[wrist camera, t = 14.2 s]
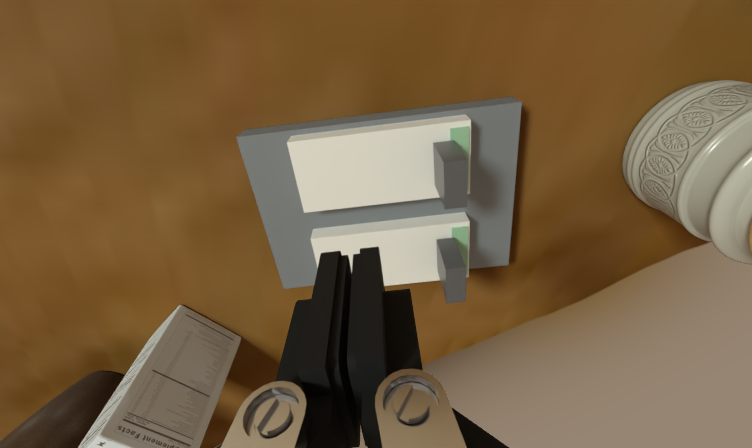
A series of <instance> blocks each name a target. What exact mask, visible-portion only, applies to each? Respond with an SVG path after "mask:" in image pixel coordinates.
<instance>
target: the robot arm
mask: <svg viewBox="0 0 752 448" xmlns="http://www.w3.org/2000/svg"><path fill="white" fill-rule="evenodd" d="M360 425H361V429H362V433H363V437H364V441H365V445H366V446H368V448H509V447H507V446H505V445H504V444H503V443H501V442H500V441H499V440H497V439H496V438H494V437H493V436H492V435H490V434H489V433H487V432H486V431H484V430H483V429H482V428H480V427H479V426H477V425H476V424H474V423H473V422H472V421H470V420H469V419H467V418H466V417H464V416H463V415H462V414H460V413H459V412H457V411H456V410H454V409H453V408H452V407H451V405H450V402H449V400H448V397H447V394H446V392H445V390H444V388H443V386H442V385H441V383H440V382H439V381H438V380H437V379H436V378H435V377H434V376H433V375H431V374H429V373H427V372H425V371H423V370H422V363H421V357H420V350H419V344H418V338H417V331H416V325H415V318H414V312H413V306H412V299H411V293H410V289H404V290H394V291H385V288H384V281H383V273H382V266H381V259H380V251H379V247H370V248H361V249H360V254H353V264H352V272H351V267H350V261H349V257H348V255H342V254H341V251H333V252H324V253H321V255H320V259H319V264H318V269H317V274H316V279H315V284H314V289H313V294H312V299H307V300H298V301H297V302H296V304H295V307H294V311H293V315H292V319H291V323H290V327H289V331H288V335H287V339H286V343H285V347H284V351H283V354H282V358H281V362H280V366H279V370H278V374H277V378H276V382H271V383H269V384H266V385H263V386H262V387H260V388H258V389H257V390H255V391H254V392H253V393H252V394H251V395H250V396H249V397H248V398H247V399H246V400H245V401H244V402H243V404H242V405H241V407H240V409H239V410H238V412H237V414H236V416H235V419H234V421H233V423H232V425H231V427H230V429H229V431H228V433H227V435H226V437H225V439H224V442H223V443H222V444H221V445H220V446H219V447H217V448H352V447H359V445H360Z"/></svg>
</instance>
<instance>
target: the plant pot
mask: <svg viewBox="0 0 752 448" xmlns="http://www.w3.org/2000/svg"><path fill="white" fill-rule="evenodd" d="M123 378H124V376H122V375H120V374H117V373H113V372H107V371H98V372H94V373H91V374H89V375H88V376H86V377H85V378H83V379H81V380H80V381H78V382H77V383H75V384H74V385H72V386H71V387H70V388H68V389H67V390H65V391H64V392H62V393H61V394H60V395H58V396H57V397H55V398H54V399H53V400H51V401H50V402H49V403H47V404H46V405H45V406H43V407H42V408H41V409H39V410H38V411H37V412H36V413H34V414H33V415H32V416H30V417H29V418H28V419H27V420H26V421H24V422H23V423H22V424H21V425H19V426H18V427H17V428H16V429H15V430H13V431H12V432H11V433H10V434H9V435H7V436H6V437H5V438H4V439H3V440H2V441H0V448H78V447H79V445H80V444H81V442H82V441H83V439H84V438H85V436H86V434H87V433H88V431H89V430H90V428H91V427H92V425H93V424H94V422H95V421H96V419H97V418H98V416H99V415H100V413H101V412H102V410H103V409H104V407H105V405H106V404H107V402H108V401H109V399H110V398H111V396H112V395H113V393H114V392H115V390H116V389H117V387H118V386H119V384H120V383H121V381H122V380H123Z"/></svg>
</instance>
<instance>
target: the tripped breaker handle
mask: <svg viewBox="0 0 752 448" xmlns="http://www.w3.org/2000/svg"><path fill="white" fill-rule="evenodd" d="M433 154H434V180H435V187H436V189H437V192H438V194H439V197H440V199H441V202H442V204H443V206H444V209H445V210H446V209H455V208H464V207H467V182H468V159H467V158H466V157H465V155H464V154H463V152H462V151H461V150H460V148H459V147H458V145H457V144H456V143H455V141H454V140H451V141H443V142H435V143H433Z"/></svg>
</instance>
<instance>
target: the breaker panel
mask: <svg viewBox="0 0 752 448" xmlns="http://www.w3.org/2000/svg"><path fill="white" fill-rule="evenodd" d="M521 107H522V102H521V101H519V100H518V99H516V98H514V97H505V98H497V99H489V100H481V101H473V102H465V103H457V104H449V105H441V106H433V107H425V108H417V109H409V110H401V111H393V112H384V113H376V114H368V115H360V116H352V117H344V118H336V119H328V120H320V121H312V122H304V123H296V124H288V125H280V126H272V127H264V128H256V129H248V130H244V131H243V132H241V133H240V134H239V135H238V136H237V137H236V138H237V141H238V144H239V148H240V151H241V154H242V157H243V160H244V164H245V167H246V170H247V173H248V176H249V179H250V183H251V186H252V189H253V192H254V195H255V199H256V202H257V205H258V208H259V211H260V214H261V218H262V221H263V224H264V227H265V230H266V234H267V237H268V240H269V243H270V246H271V249H272V253H273V256H274V259H275V262H276V265H277V269H278V272H279V275H280V278H281V281H282V284H283V288H284V289H286V288H295V287H305V286H314V284H315V279H316V274H317V269H318V264H319V259H320V255H321V253H324V252H333V251H341V254H342V255H348V257H349V261H350V267H351V272H352V264H353V254H360V249H361V248H370V247H379V251H380V259H381V266H382V273H383V281H384V286H388V285H398V284H407V283H417V282H427V281H436V280H440V278H439V274H438V269H437V244H436V239H445V238H455V241H456V243H457V246H458V248H459V251H460V253H461V256H462V258H463V261H464V263H465V266H466V277H469V269H475V268H485V267H494V266H503V265H509V254H510V242H511V229H512V217H513V205H514V193H515V180H516V168H517V156H518V144H519V132H520V119H521ZM451 140H454V141H455V143H456V144H457V145H458V147H459V148H460V150H461V151H462V152H463V154H464V155H465V157H466V158H467V159H468V182H467V207H464V208H455V209H446V210H445V209H444V206H443V204H442V202H441V199H440V197H439V194H438V192H437V189H436V187H435V180H434V154H433V143H435V142H443V141H451Z"/></svg>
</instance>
